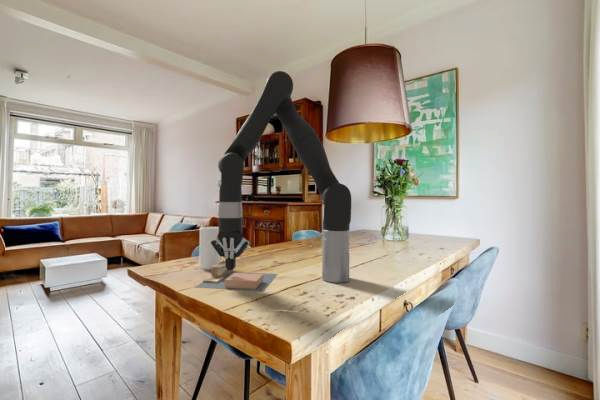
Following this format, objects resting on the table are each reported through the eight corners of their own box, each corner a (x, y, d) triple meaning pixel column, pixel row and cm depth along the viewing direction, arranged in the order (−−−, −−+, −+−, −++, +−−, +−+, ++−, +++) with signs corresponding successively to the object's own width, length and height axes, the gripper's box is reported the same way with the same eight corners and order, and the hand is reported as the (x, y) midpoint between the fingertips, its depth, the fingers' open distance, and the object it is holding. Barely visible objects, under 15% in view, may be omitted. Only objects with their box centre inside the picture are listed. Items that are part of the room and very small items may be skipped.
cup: (217, 270, 108) (217, 228, 108) (196, 269, 108) (196, 228, 108) (223, 265, 116) (223, 226, 116) (203, 264, 116) (204, 226, 116)
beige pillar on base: (233, 271, 105) (234, 260, 105) (217, 283, 91) (217, 270, 91) (221, 270, 106) (221, 260, 106) (202, 282, 91) (202, 270, 91)
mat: (277, 274, 102) (277, 274, 102) (263, 292, 83) (263, 291, 83) (220, 272, 105) (220, 271, 105) (194, 288, 86) (194, 287, 86)
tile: (234, 280, 94) (263, 281, 93) (224, 287, 86) (256, 289, 85) (234, 272, 94) (263, 274, 93) (224, 279, 86) (256, 281, 85)
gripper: (254, 215, 93) (253, 267, 93) (216, 215, 95) (216, 266, 95) (246, 217, 85) (246, 273, 85) (205, 216, 87) (205, 272, 87)
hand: (230, 269), depth 90 cm, fingers closed
